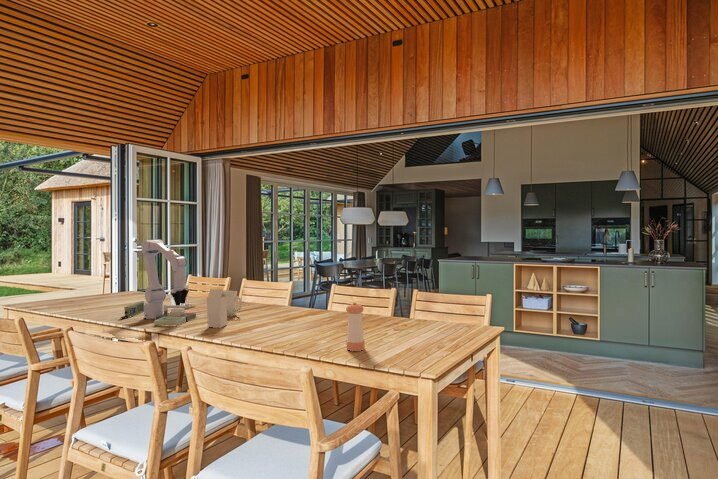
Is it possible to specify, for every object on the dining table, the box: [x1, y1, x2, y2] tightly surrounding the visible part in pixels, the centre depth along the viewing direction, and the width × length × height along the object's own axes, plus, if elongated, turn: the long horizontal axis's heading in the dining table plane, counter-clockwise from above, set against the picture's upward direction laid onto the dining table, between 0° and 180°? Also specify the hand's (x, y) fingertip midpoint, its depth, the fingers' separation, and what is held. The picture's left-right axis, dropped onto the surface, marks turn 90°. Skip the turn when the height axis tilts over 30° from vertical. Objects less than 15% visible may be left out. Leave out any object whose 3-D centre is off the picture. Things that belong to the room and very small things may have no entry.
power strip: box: [155, 311, 197, 322], centre depth 255 cm, size 18×10×3 cm, turn 83°
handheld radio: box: [120, 300, 145, 319], centre depth 269 cm, size 7×3×25 cm
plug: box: [169, 308, 186, 316], centre depth 255 cm, size 6×6×6 cm
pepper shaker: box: [345, 302, 366, 352], centre depth 187 cm, size 7×7×19 cm
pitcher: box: [223, 289, 243, 317], centre depth 264 cm, size 11×18×14 cm, turn 62°
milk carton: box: [206, 288, 228, 329], centre depth 235 cm, size 7×7×19 cm
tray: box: [153, 317, 187, 326], centre depth 243 cm, size 12×10×3 cm
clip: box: [163, 304, 192, 315], centre depth 255 cm, size 16×2×5 cm, turn 83°
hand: (180, 304), depth 248 cm, fingers open, 5 cm apart
